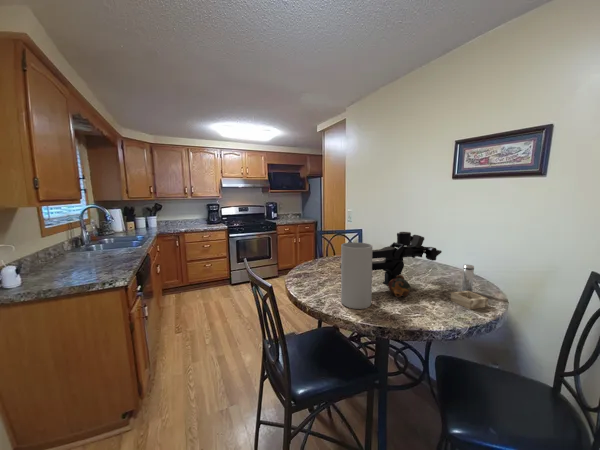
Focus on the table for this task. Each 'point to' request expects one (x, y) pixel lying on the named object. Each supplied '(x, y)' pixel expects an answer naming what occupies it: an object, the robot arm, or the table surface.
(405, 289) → the decorative turtle
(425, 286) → the table surface
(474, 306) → the socket block
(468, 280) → the silver metal cylinder
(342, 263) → the cylinder vase
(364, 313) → the table surface
